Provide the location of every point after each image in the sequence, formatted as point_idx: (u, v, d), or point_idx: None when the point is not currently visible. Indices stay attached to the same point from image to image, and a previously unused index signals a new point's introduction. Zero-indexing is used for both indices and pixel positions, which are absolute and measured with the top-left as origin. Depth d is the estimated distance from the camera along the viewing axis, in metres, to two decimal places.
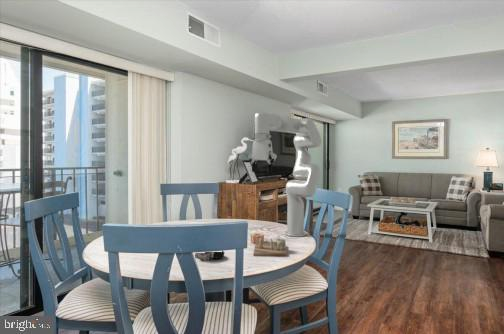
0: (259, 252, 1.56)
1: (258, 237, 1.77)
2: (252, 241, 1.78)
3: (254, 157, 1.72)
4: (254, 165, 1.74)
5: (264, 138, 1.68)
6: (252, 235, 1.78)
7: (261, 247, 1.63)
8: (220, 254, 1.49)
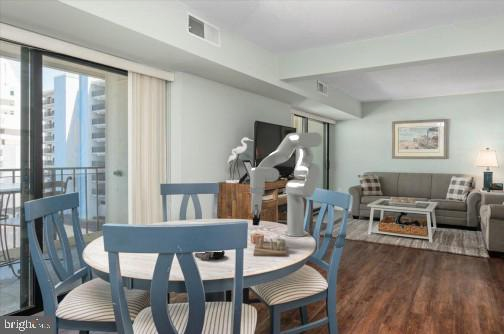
0: (259, 252, 1.56)
1: (258, 237, 1.77)
2: (252, 241, 1.78)
3: (260, 210, 1.76)
4: None
5: None
6: (252, 235, 1.78)
7: (261, 247, 1.63)
8: (220, 254, 1.50)
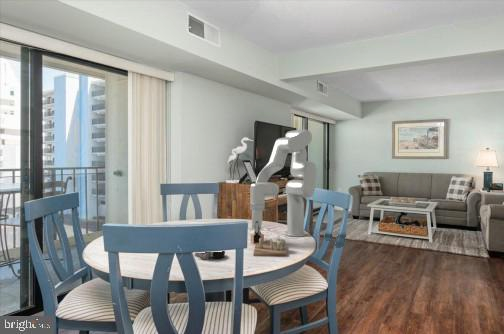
0: (259, 252, 1.56)
1: None
2: (252, 241, 1.78)
3: (261, 226, 1.77)
4: None
5: None
6: (252, 235, 1.78)
7: (261, 247, 1.63)
8: (220, 253, 1.50)
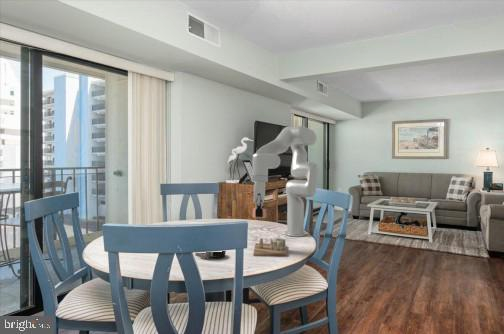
0: (259, 252, 1.56)
1: None
2: (254, 215, 1.65)
3: (263, 200, 1.63)
4: None
5: None
6: (254, 209, 1.65)
7: (261, 247, 1.63)
8: (220, 253, 1.50)
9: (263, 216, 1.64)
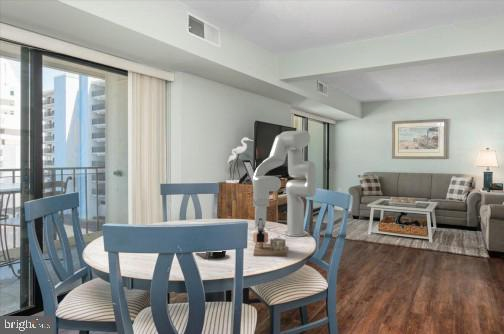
0: (259, 252, 1.56)
1: None
2: (255, 240, 1.62)
3: None
4: None
5: None
6: (255, 234, 1.62)
7: (261, 247, 1.63)
8: (220, 253, 1.51)
9: (265, 241, 1.61)
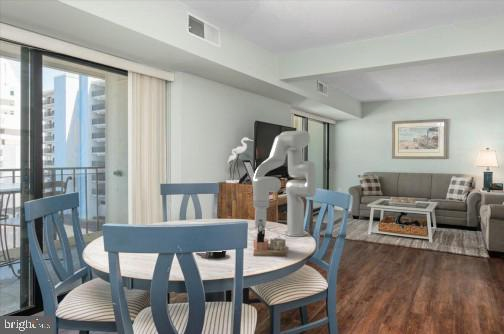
0: (259, 252, 1.56)
1: (262, 242, 1.61)
2: (255, 247, 1.62)
3: (265, 225, 1.60)
4: None
5: None
6: (255, 240, 1.62)
7: None
8: (220, 253, 1.51)
9: (265, 247, 1.61)
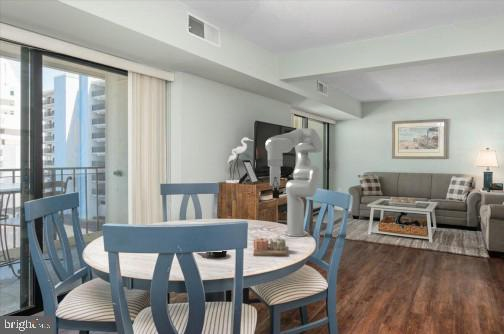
0: (259, 252, 1.56)
1: (262, 242, 1.61)
2: (255, 247, 1.62)
3: (279, 183, 1.71)
4: None
5: None
6: (255, 240, 1.62)
7: None
8: (220, 253, 1.51)
9: (265, 247, 1.61)
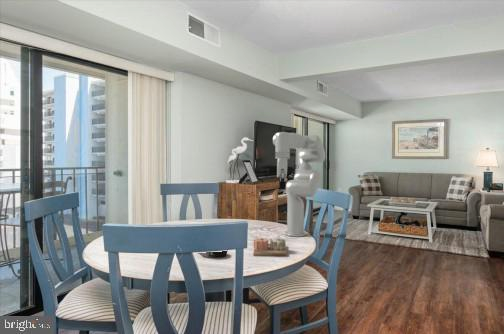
0: (259, 252, 1.56)
1: (262, 242, 1.61)
2: (255, 247, 1.62)
3: (286, 174, 1.77)
4: None
5: None
6: (255, 240, 1.62)
7: None
8: (220, 252, 1.52)
9: (265, 247, 1.61)
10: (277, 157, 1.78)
